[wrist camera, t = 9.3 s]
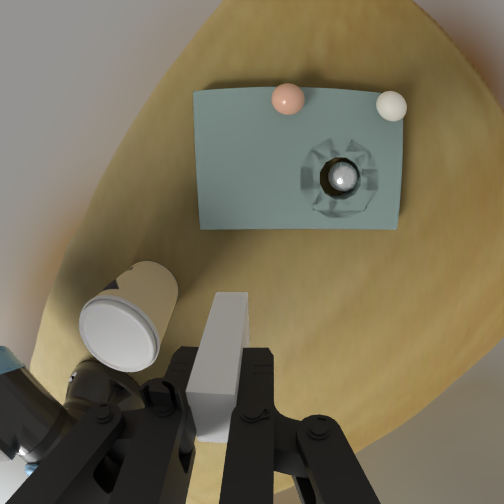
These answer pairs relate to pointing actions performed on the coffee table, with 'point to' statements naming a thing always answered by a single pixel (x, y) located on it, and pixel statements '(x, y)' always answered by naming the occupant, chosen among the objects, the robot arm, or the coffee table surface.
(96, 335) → the coffee cup
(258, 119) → the board
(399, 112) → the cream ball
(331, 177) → the steel ball
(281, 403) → the coffee table surface
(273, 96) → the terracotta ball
